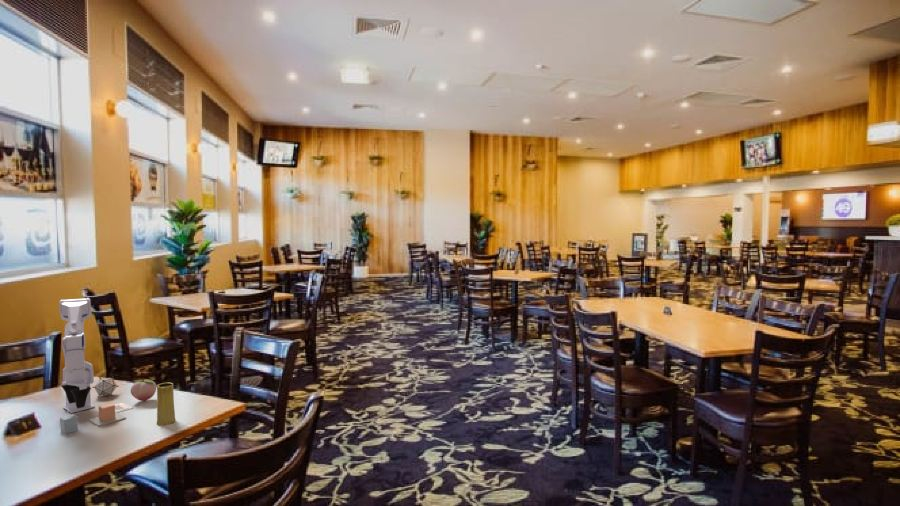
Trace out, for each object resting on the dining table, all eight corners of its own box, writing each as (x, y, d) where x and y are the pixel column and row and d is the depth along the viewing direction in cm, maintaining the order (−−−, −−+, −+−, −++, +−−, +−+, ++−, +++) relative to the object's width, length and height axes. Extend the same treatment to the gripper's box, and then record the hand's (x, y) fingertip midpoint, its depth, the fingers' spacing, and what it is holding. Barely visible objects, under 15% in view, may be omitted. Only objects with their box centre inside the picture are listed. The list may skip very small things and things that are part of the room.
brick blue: (60, 431, 178) (60, 417, 178) (74, 427, 181) (73, 413, 181) (64, 433, 175) (64, 420, 175) (78, 430, 179) (77, 416, 178)
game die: (107, 405, 212) (101, 391, 206) (91, 397, 214) (85, 383, 208) (125, 389, 219) (120, 376, 213) (109, 381, 221) (104, 367, 214)
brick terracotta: (111, 415, 191) (110, 402, 190) (115, 418, 188) (114, 405, 188) (99, 418, 187) (98, 405, 187) (103, 421, 185) (102, 408, 185)
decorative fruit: (161, 397, 212) (160, 374, 211) (150, 404, 203) (149, 380, 203) (139, 397, 212) (138, 374, 211) (127, 404, 203) (126, 380, 203)
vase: (179, 420, 188) (178, 383, 187) (165, 426, 182) (164, 388, 181) (167, 418, 190) (165, 381, 189) (152, 424, 184) (151, 386, 183)
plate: (89, 420, 187) (89, 419, 187) (116, 413, 194) (116, 412, 194) (98, 426, 182) (98, 425, 182) (126, 418, 189) (126, 417, 189)
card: (102, 408, 200) (102, 407, 200) (122, 402, 205) (122, 402, 205) (112, 413, 194) (112, 413, 194) (132, 408, 199) (132, 407, 199)
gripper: (54, 367, 180) (56, 403, 181) (69, 374, 171) (70, 413, 172) (77, 362, 186) (79, 398, 186) (93, 369, 177) (94, 406, 178)
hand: (76, 405), depth 180 cm, fingers open, 7 cm apart
